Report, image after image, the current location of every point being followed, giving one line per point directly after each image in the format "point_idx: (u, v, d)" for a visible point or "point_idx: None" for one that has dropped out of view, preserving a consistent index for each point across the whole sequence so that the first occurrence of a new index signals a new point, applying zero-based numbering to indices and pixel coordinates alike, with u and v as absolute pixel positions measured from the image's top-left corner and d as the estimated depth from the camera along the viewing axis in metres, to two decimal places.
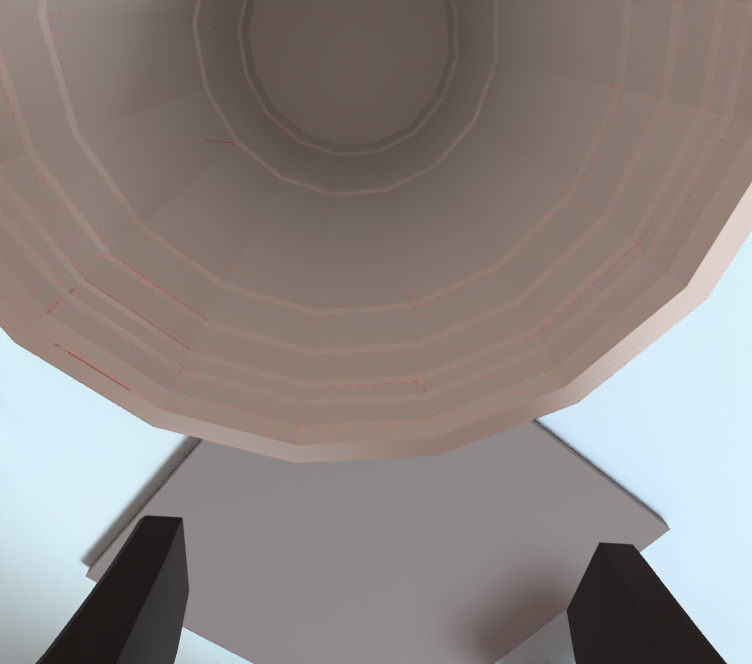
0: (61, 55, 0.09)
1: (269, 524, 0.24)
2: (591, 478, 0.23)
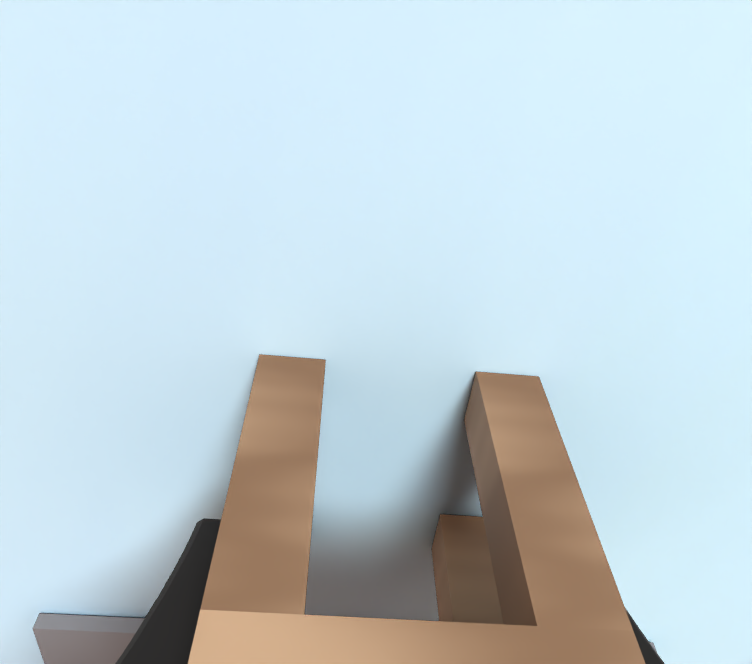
0: None
1: None
2: None
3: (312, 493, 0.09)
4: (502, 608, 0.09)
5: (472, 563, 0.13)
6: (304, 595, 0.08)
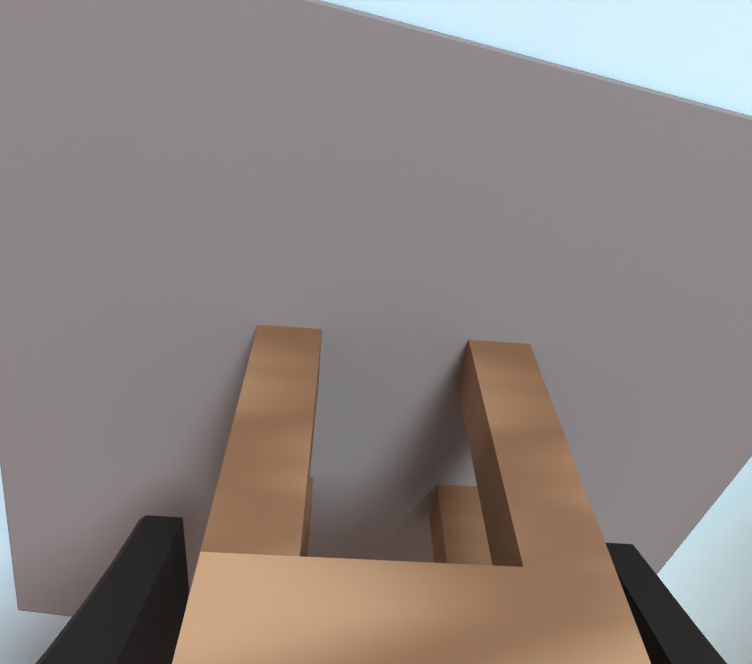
0: None
1: None
2: None
3: (308, 449, 0.09)
4: (492, 558, 0.09)
5: (467, 529, 0.13)
6: (299, 539, 0.08)
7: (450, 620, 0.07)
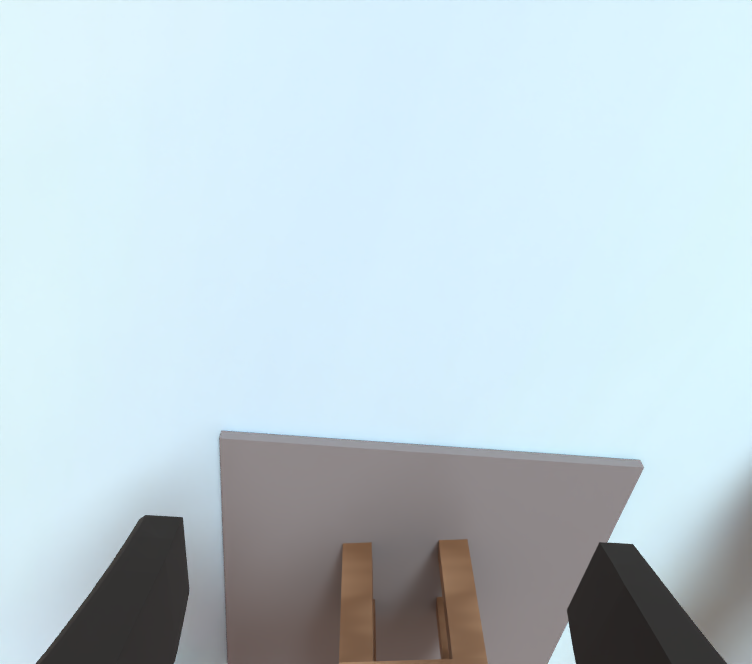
0: None
1: (425, 634, 0.30)
2: (229, 515, 0.25)
3: (371, 612, 0.24)
4: (448, 650, 0.24)
5: None
6: (372, 654, 0.22)
7: None
